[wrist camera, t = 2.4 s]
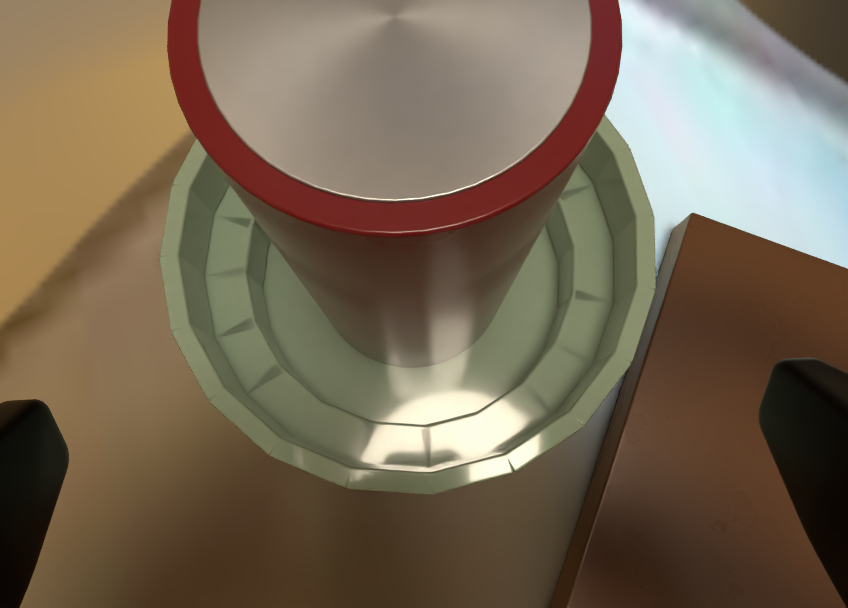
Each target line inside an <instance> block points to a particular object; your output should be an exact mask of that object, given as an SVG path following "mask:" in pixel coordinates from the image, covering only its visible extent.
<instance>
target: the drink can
mask: <svg viewBox="0 0 848 608" xmlns="http://www.w3.org/2000/svg"><path fill="white" fill-rule="evenodd" d="M167 48H168V49H167V51H168V59H169V67H170V74H171V79H172V83H173V86H174V90H175V93H176V96H177V100H178V103H179V105H180V107H181V110H182V111H183V114H184V116H185V118H186V120H187V123H188V125H189V127H190V128H191V130H192V132H193V133H194V135H195V136H196V138H197V139H198V141H199V142H200V144H201V145H202V147H203V148H204V150H205V151H206V153H207V154H208V155H209V157H210V158H211V159H212V161H213V162H214V164H215V165H216V166H217V168H218V169H219V170H220V172H221V173H222V175H223V176H224V177H225V179H226V180H227V181H228V183H229V184H230V185H231V187H232V188H233V190H234V191H235V192H236V194H237V195H238V196H239V198H240V199H241V201H242V202H243V203H244V205H245V206H246V207H247V209H248V210H249V211H250V213H251V214H252V216H253V217H254V218H255V220H256V221H257V222H258V224H259V225H260V227H261V228H262V229H263V231H264V232H265V233H266V235H267V236H268V237H269V239H270V240H271V242H272V243H273V244H274V246H275V247H276V248H277V250H278V251H279V252H280V254H281V255H282V257H283V258H284V259H285V261H286V262H287V263H288V265H289V266H290V268H291V269H292V270H293V272H294V273H295V274H296V276H297V277H298V278H299V280H300V281H301V283H302V284H303V285H304V287H305V288H306V289H307V291H308V292H309V294H310V295H311V296H312V298H313V299H314V300H315V302H316V303H317V304H318V306H319V307H320V309H321V310H322V311H323V313H324V314H325V315H326V317H327V318H328V320H329V321H330V322H331V324H332V325H333V326H334V328H335V329H336V330H337V332H338V333H339V334H340V335H341V336H342V338H343V339H344V340H345V341H346V342H347V343H348V344H349V345H351V346H352V347H353V348H354V349H355V350H357V351H358V352H360V353H361V354H363V355H364V356H366V357H368V358H371V359H373V360H375V361H377V362H380V363H383V364H386V365H391V366H396V367H405V368H417V367H427V366H431V365H436V364H439V363H442V362H445V361H448V360H450V359H452V358H454V357H456V356H458V355H460V354H461V353H463V352H464V351H465V350H467V349H468V348H470V347H471V346H472V345H473V344H474V343H475V342H476V341H477V340H479V338H480V337H481V336H482V335H483V334H484V332H485V331H486V330H487V328H488V327H489V325H490V324H491V322H492V321H493V319H494V317H495V315H496V313H497V311H498V310H499V308H500V306H501V304H502V302H503V300H504V299H505V297H506V295H507V293H508V291H509V289H510V288H511V286H512V284H513V282H514V280H515V278H516V277H517V275H518V273H519V271H520V269H521V267H522V266H523V264H524V262H525V260H526V258H527V256H528V255H529V253H530V251H531V249H532V247H533V245H534V244H535V242H536V240H537V238H538V236H539V234H540V233H541V231H542V229H543V227H544V225H545V224H546V222H547V220H548V218H549V216H550V214H551V213H552V211H553V209H554V207H555V205H556V203H557V202H558V200H559V198H560V196H561V194H562V192H563V191H564V189H565V187H566V185H567V183H568V181H569V180H570V178H571V176H572V174H573V172H574V170H575V169H576V167H577V165H578V163H579V161H580V159H581V158H582V156H583V154H584V152H585V150H586V148H587V147H588V145H589V143H590V141H591V139H592V138H593V136H594V134H595V132H596V130H597V128H598V127H599V125H600V123H601V121H602V118H603V116H604V114H605V112H606V110H607V107H608V105H609V103H610V101H611V99H612V95H613V92H614V88H615V85H616V81H617V78H618V74H619V68H620V60H621V52H622V20H621V14H620V8H619V2H618V0H172V3H171V8H170V14H169V20H168V44H167Z"/></svg>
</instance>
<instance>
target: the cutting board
mask: <svg viewBox="0 0 848 608" xmlns="http://www.w3.org/2000/svg"><path fill="white" fill-rule="evenodd" d="M789 358H816V359H819V360H821V361H823V362H825V363H827V364H829V365H832V366H834V367H836V368H838V369H840V370H842V371H844V372H846V373H848V269H847V268H844V267H841V266H839V265H836V264H833V263H830V262H828V261H825V260H822V259H819V258H817V257H814V256H811V255H808V254H806V253H803V252H800V251H797V250H795V249H792V248H789V247H786V246H783V245H781V244H778V243H775V242H772V241H770V240H767V239H764V238H761V237H759V236H756V235H753V234H750V233H748V232H745V231H742V230H739V229H737V228H734V227H731V226H728V225H726V224H723V223H720V222H717V221H715V220H712V219H709V218H706V217H704V216H701V215H698V214H695V213H691V214H690V215H689V216H688V217H686V218H685V219H684V220H683V221H682V222H681V223H680V224H678V225H677V226H676V227H675V228H674V229H673V231H672V234H671V238H670V241H669V244H668V247H667V250H666V253H665V256H664V259H663V262H662V265H661V268H660V271H659V274H658V278H657V281H656V288H655V294H654V297H653V300H652V303H651V306H650V309H649V312H648V315H647V318H646V322H645V325H644V328H643V331H642V334H641V337H640V340H639V343H638V346H637V349H636V352H635V355H634V359H633V361H632V362H631V365H630V367H629V368H628V370H627V373H626V376H625V379H624V382H623V385H622V388H621V391H620V394H619V397H618V401H617V404H616V407H615V410H614V413H613V416H612V419H611V422H610V425H609V428H608V431H607V434H606V437H605V440H604V444H603V447H602V450H601V453H600V456H599V459H598V462H597V465H596V468H595V471H594V474H593V477H592V480H591V484H590V487H589V490H588V493H587V496H586V499H585V502H584V505H583V508H582V511H581V514H580V517H579V520H578V524H577V527H576V530H575V533H574V536H573V539H572V542H571V545H570V548H569V551H568V554H567V557H566V560H565V564H564V567H563V570H562V573H561V576H560V579H559V582H558V585H557V588H556V591H555V594H554V597H553V600H552V603H551V607H550V608H846V606H845V604H844V603H843V601H842V599H841V597H840V595H839V594H838V592H837V590H836V588H835V586H834V585H833V583H832V581H831V579H830V577H829V576H828V574H827V572H826V570H825V569H824V567H823V565H822V563H821V561H820V560H819V558H818V556H817V554H816V552H815V550H814V548H813V546H812V544H811V542H810V541H809V539H808V536H807V534H806V532H805V530H804V528H803V526H802V524H801V521H800V519H799V517H798V515H797V512H796V510H795V508H794V505H793V503H792V501H791V498H790V496H789V494H788V491H787V489H786V487H785V484H784V482H783V479H782V477H781V475H780V472H779V470H778V468H777V465H776V463H775V461H774V458H773V456H772V454H771V451H770V449H769V447H768V444H767V442H766V440H765V437H764V435H763V433H762V430H761V427H760V424H759V407H760V404H761V401H762V398H763V395H764V392H765V389H766V386H767V383H768V380H769V377H770V374H771V371H772V369H773V367H774V365H775V364H776V363H777V362H778V361H780V360H782V359H789Z"/></svg>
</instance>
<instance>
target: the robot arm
mask: <svg viewBox="0 0 848 608" xmlns="http://www.w3.org/2000/svg"><path fill="white" fill-rule="evenodd" d="M759 424H760V427H761V430H762V433H763V435H764V437H765V440H766V442H767V444H768V447H769V449H770V451H771V454H772V456H773V458H774V461H775V463H776V465H777V468H778V470H779V472H780V475H781V477H782V479H783V482H784V484H785V487H786V489H787V491H788V494H789V496H790V498H791V501H792V503H793V505H794V508H795V510H796V512H797V515H798V517H799V519H800V521H801V524H802V526H803V528H804V530H805V532H806V534H807V536H808V539H809V541H810V542H811V544H812V546H813V548H814V550H815V552H816V554H817V556H818V558H819V560H820V561H821V563H822V565H823V567H824V569H825V570H826V572H827V574H828V576H829V577H830V579H831V581H832V583H833V585H834V586H835V588H836V590H837V592H838V594H839V595H840V597H841V599H842V601H843V603H844V604H845V606H846V608H848V373H846V372H844V371H842V370H840V369H838V368H836V367H834V366H832V365H829V364H827V363H825V362H823V361H821V360H819V359H816V358H789V359H782V360H780V361H778V362H777V363H776V364H775V365H774V367H773V369H772V371H771V374H770V377H769V380H768V383H767V386H766V389H765V392H764V395H763V398H762V401H761V404H760V407H759ZM68 463H69V452H68V448H67V445H66V443H65V441H64V439H63V436H62V434H61V432H60V430H59V428H58V426H57V424H56V422H55V420H54V418H53V415H52V413H51V411H50V409H49V408H48V406H47V405H46V404H45V403H44V402H42V401H40V400H36V399H32V400H14V401H6V402H3V403H1V404H0V608H19V607H20V605H21V603H22V600H23V598H24V595H25V593H26V591H27V588H28V586H29V583H30V580H31V578H32V575H33V572H34V569H35V567H36V564H37V561H38V558H39V554H40V551H41V548H42V545H43V542H44V539H45V536H46V533H47V530H48V527H49V524H50V521H51V518H52V514H53V511H54V508H55V505H56V502H57V499H58V496H59V493H60V490H61V487H62V484H63V481H64V478H65V474H66V471H67V468H68Z"/></svg>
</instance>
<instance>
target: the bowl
mask: <svg viewBox="0 0 848 608" xmlns="http://www.w3.org/2000/svg"><path fill="white" fill-rule="evenodd" d="M160 266H161V272H162V278H163V284H164V291H165V297H166V303H167V310H168V316H169V322H170V328H171V331H172V335H173V337H174V339H175V340H176V342H177V344H178V346H179V348H180V350H181V351H182V353H183V355H184V357H185V359H186V361H187V363H188V364H189V366H190V368H191V370H192V372H193V374H194V375H195V377H196V379H197V381H198V383H199V385H200V387H201V388H202V390H203V392H204V394H205V396H206V398H207V399H208V400H209V401H210V403H211V404H212V405H213V406H214V407H215V408H216V409H218V410H219V411H220V412H221V413H222V414H223V415H224V416H225V417H226V418H227V419H229V420H230V421H231V422H232V423H233V424H234V425H235V426H236V427H237V428H239V429H240V430H241V431H242V432H243V433H244V434H245V435H246V436H247V437H249V438H250V439H251V440H252V441H253V442H254V443H255V444H256V445H257V446H258V447H260V448H261V449H262V450H263V451H264V452H265V453H266V454H268V455H270V456H271V457H272V458H275V459H277V460H279V461H282V462H284V463H287V464H289V465H291V466H294V467H296V468H298V469H301V470H303V471H305V472H308V473H310V474H313V475H315V476H317V477H320V478H322V479H324V480H327V481H329V482H332V483H334V484H336V485H339V486H341V487H343V488H348V489H354V490H369V491H383V492H397V493H411V494H425V495H431V494H437V493H441V492H445V491H449V490H453V489H456V488H460V487H464V486H468V485H472V484H475V483H479V482H483V481H487V480H490V479H494V478H498V477H502V476H506V475H509V474H512V473H513V472H517V471H518V470H520V469H521V468H523V467H524V466H526V465H527V464H529V463H530V462H532V461H533V460H535V459H536V458H538V457H539V456H541V455H542V454H544V453H545V452H547V451H548V450H550V449H551V448H553V447H554V446H556V445H557V444H559V443H560V442H562V441H563V440H565V439H566V438H568V437H569V436H571V435H572V434H574V433H575V432H577V431H578V430H580V429H581V428H582V426H584V425H585V424H586V423H587V422H588V421H589V419H590V418H591V417H592V415H593V414H594V413H595V411H596V410H597V409H598V407H599V406H600V405H601V403H602V402H603V401H604V399H605V398H606V397H607V396H608V394H609V393H610V392H611V390H612V389H613V388H614V386H615V385H616V384H617V382H618V381H619V380H620V378H621V377H622V376H623V374H624V373H625V372H626V371H627V369H628V368H629V367H630V365H631V362H632V361H633V359H634V355H635V352H636V349H637V346H638V343H639V340H640V337H641V334H642V331H643V328H644V325H645V322H646V318H647V315H648V312H649V309H650V306H651V303H652V300H653V297H654V294H655V288H656V276H655V227H654V216H653V211H652V208H651V205H650V202H649V200H648V197H647V194H646V191H645V188H644V186H643V183H642V180H641V177H640V175H639V172H638V169H637V166H636V163H635V161H634V158H633V155H632V152H631V150H630V148H629V146H628V144H627V143H626V142H625V140H624V139H623V138H622V136H621V135H620V134H619V132H618V131H617V130H616V129H615V127H614V126H613V125H612V123H611V122H610V121H609V120H608V118H607V117H606V116H605V114H604V116H603V118H602V121H601V123H600V125H599V127H598V128H597V130H596V132H595V134H594V136H593V138H592V139H591V141H590V143H589V145H588V147H587V148H586V150H585V152H584V154H583V156H582V158H581V159H580V161H579V163H578V165H577V167H576V169H575V170H574V172H573V174H572V176H571V178H570V180H569V181H568V183H567V185H566V187H565V189H564V191H563V192H562V194H561V196H560V198H559V200H558V202H557V203H556V205H555V207H554V209H553V211H552V213H551V214H550V216H549V218H548V220H547V222H546V224H545V225H544V227H543V229H542V231H541V233H540V234H539V236H538V238H537V240H536V242H535V244H534V245H533V247H532V249H531V251H530V253H529V255H528V256H527V258H526V260H525V262H524V264H523V266H522V267H521V269H520V271H519V273H518V275H517V277H516V278H515V280H514V282H513V284H512V286H511V288H510V289H509V291H508V293H507V295H506V297H505V299H504V300H503V302H502V304H501V306H500V308H499V310H498V311H497V313H496V315H495V317H494V319H493V321H492V322H491V324H490V325H489V327H488V328H487V330H486V331H485V332H484V334H483V335H482V336H481V337H480V338H479V340H477V341H476V342H475V343H474V344H473V345H472V346H471V347H470V348H468V349H467V350H465V351H464V352H463V353H461V354H460V355H458V356H456V357H454V358H452V359H450V360H448V361H445V362H442V363H439V364H436V365H431V366H427V367H417V368H405V367H396V366H391V365H386V364H383V363H380V362H377V361H375V360H373V359H371V358H368V357H366V356H364V355H363V354H361V353H360V352H358V351H357V350H355V349H354V348H353V347H352V346H351V345H349V344H348V343H347V342H346V341H345V340H344V339H343V338H342V336H341V335H340V334H339V333H338V332H337V330H336V329H335V328H334V326H333V325H332V324H331V322H330V321H329V320H328V318H327V317H326V315H325V314H324V313H323V311H322V310H321V309H320V307H319V306H318V304H317V303H316V302H315V300H314V299H313V298H312V296H311V295H310V294H309V292H308V291H307V289H306V288H305V287H304V285H303V284H302V283H301V281H300V280H299V278H298V277H297V276H296V274H295V273H294V272H293V270H292V269H291V268H290V266H289V265H288V263H287V262H286V261H285V259H284V258H283V257H282V255H281V254H280V252H279V251H278V250H277V248H276V247H275V246H274V244H273V243H272V242H271V240H270V239H269V237H268V236H267V235H266V233H265V232H264V231H263V229H262V228H261V227H260V225H259V224H258V222H257V221H256V220H255V218H254V217H253V216H252V214H251V213H250V211H249V210H248V209H247V207H246V206H245V205H244V203H243V202H242V201H241V199H240V198H239V196H238V195H237V194H236V192H235V191H234V190H233V188H232V187H231V185H230V184H229V183H228V181H227V180H226V179H225V177H224V176H223V175H222V173H221V172H220V170H219V169H218V168H217V166H216V165H215V164H214V162H213V161H212V159H211V158H210V157H209V155H208V154H207V153H206V151H205V150H204V148H203V147H202V145H201V144H200V142H199V141H198V139H197V138H196V140H195V142H194V144H193V146H192V148H191V150H190V151H189V153H188V155H187V157H186V159H185V161H184V163H183V165H182V166H181V168H180V170H179V172H178V174H177V176H176V178H175V180H174V181H173V185H172V187H171V192H170V198H169V204H168V210H167V215H166V221H165V227H164V232H163V238H162V244H161V250H160Z"/></svg>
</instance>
